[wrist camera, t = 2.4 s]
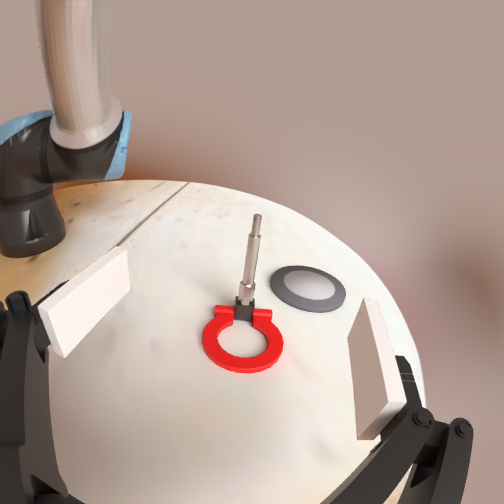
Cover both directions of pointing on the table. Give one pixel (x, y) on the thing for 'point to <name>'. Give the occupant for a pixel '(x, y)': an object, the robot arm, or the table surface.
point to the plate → (308, 289)
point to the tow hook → (244, 318)
